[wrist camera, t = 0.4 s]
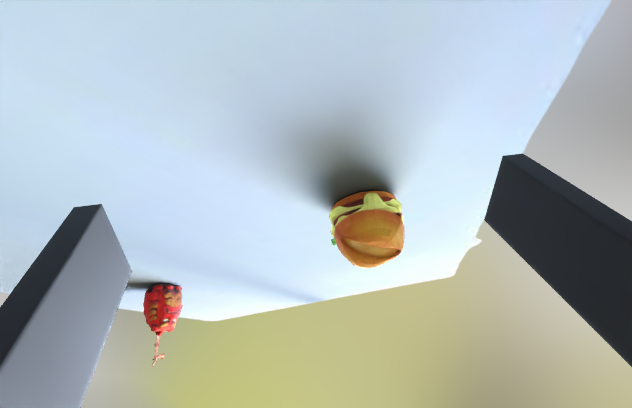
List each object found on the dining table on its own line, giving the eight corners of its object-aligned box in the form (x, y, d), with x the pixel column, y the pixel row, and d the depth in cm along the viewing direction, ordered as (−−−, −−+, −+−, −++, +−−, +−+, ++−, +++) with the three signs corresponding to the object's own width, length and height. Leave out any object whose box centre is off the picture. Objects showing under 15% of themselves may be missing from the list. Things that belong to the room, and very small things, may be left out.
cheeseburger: (333, 225, 54) (341, 284, 47) (316, 181, 45) (323, 246, 39) (399, 212, 52) (415, 271, 46) (393, 164, 44) (412, 228, 38)
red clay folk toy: (190, 284, 73) (189, 361, 67) (168, 292, 76) (165, 366, 70) (158, 280, 67) (154, 364, 61) (136, 288, 70) (129, 369, 64)
